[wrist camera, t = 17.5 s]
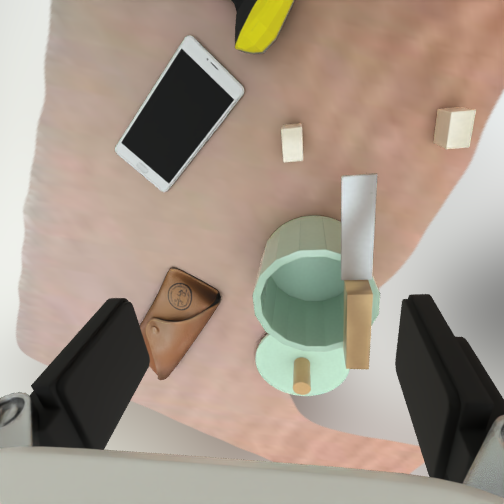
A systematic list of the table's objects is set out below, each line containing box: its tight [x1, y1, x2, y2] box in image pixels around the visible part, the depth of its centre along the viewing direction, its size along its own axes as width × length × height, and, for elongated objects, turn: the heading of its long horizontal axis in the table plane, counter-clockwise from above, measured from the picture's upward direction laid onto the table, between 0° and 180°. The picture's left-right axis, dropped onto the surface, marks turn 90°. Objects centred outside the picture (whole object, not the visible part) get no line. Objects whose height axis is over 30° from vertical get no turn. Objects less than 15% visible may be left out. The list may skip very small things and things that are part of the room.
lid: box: [256, 334, 350, 396], centre depth 47 cm, size 14×14×6 cm
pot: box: [253, 216, 380, 352], centre depth 38 cm, size 13×13×9 cm
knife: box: [341, 173, 377, 369], centre depth 30 cm, size 3×19×3 cm, turn 7°
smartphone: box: [115, 35, 244, 192], centre depth 36 cm, size 8×1×15 cm
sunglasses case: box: [140, 268, 221, 380], centre depth 48 cm, size 18×7×7 cm
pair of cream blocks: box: [281, 107, 476, 162], centre depth 33 cm, size 17×3×4 cm, turn 97°
